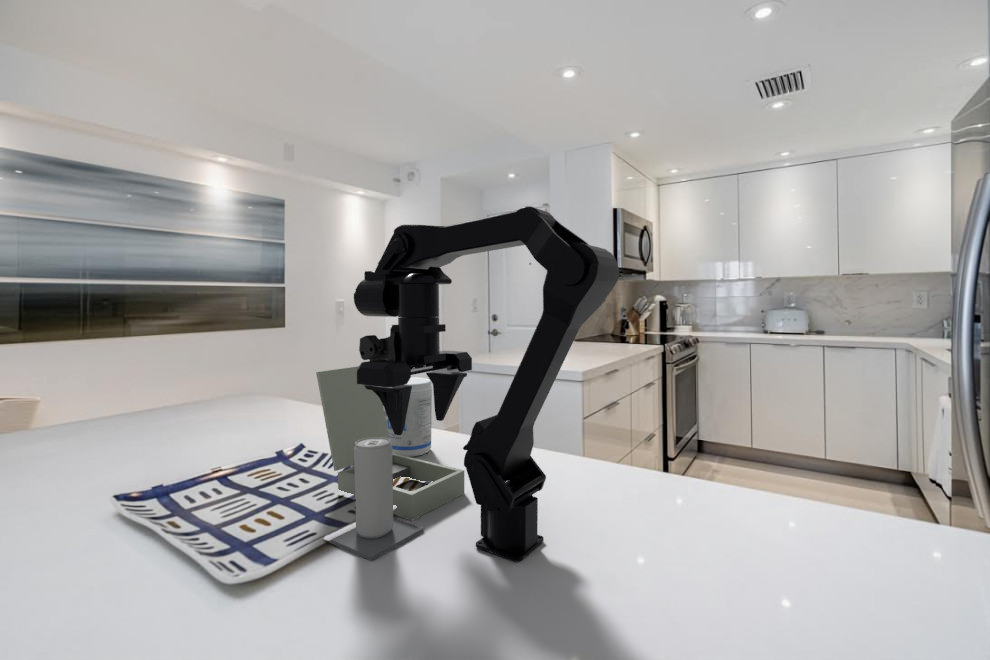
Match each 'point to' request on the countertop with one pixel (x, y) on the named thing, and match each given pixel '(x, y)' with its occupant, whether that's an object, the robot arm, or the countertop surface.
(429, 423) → the supplement tub
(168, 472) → the countertop surface
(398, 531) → the pad
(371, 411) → the lid
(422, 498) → the case
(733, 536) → the countertop surface
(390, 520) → the beverage can
